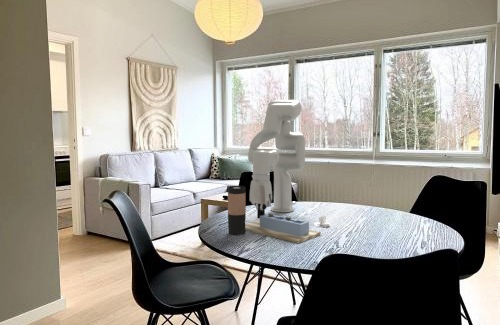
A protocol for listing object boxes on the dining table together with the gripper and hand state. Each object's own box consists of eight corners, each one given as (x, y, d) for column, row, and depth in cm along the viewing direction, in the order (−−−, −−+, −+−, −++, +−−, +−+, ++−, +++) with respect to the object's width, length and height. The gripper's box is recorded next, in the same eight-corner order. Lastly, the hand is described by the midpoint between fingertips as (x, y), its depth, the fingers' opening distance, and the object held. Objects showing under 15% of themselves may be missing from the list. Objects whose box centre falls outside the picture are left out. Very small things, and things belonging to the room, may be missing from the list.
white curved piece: (331, 228, 174) (331, 219, 174) (313, 227, 176) (313, 218, 176) (331, 223, 183) (331, 215, 182) (314, 222, 184) (314, 214, 184)
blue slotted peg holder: (268, 224, 175) (268, 213, 174) (308, 233, 160) (309, 221, 159) (259, 227, 170) (259, 215, 170) (300, 236, 155) (300, 224, 155)
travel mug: (224, 232, 165) (224, 186, 163) (238, 229, 170) (238, 185, 168) (235, 236, 159) (235, 188, 158) (249, 233, 164) (249, 187, 163)
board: (263, 222, 184) (263, 207, 183) (320, 234, 162) (320, 218, 161) (239, 228, 172) (239, 212, 171) (298, 243, 150) (298, 225, 150)
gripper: (243, 177, 174) (243, 217, 176) (268, 180, 164) (268, 222, 165) (254, 175, 179) (254, 214, 181) (279, 178, 169) (279, 219, 171)
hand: (261, 218), depth 173 cm, fingers closed
